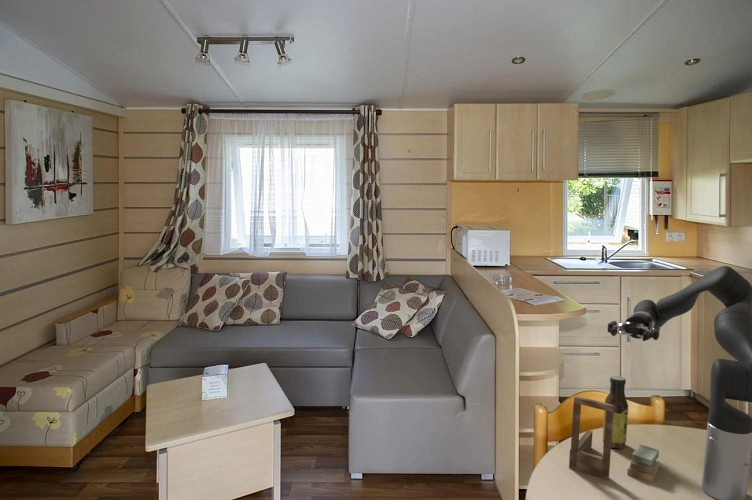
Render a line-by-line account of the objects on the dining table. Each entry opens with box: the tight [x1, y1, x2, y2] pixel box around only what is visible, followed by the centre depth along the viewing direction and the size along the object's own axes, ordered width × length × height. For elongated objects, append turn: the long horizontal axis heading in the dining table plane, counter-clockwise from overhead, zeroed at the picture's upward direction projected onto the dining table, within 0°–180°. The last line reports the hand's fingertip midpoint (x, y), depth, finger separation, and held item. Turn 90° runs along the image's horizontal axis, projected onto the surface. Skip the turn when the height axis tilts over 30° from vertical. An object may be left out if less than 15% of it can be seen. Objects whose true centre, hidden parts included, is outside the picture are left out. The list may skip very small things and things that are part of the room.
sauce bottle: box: [602, 375, 629, 450], centre depth 158 cm, size 7×6×20 cm
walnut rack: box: [568, 395, 614, 481], centre depth 148 cm, size 10×15×20 cm, turn 144°
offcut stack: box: [626, 444, 660, 483], centre depth 144 cm, size 6×9×5 cm
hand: (628, 335), depth 164 cm, fingers open, 8 cm apart
